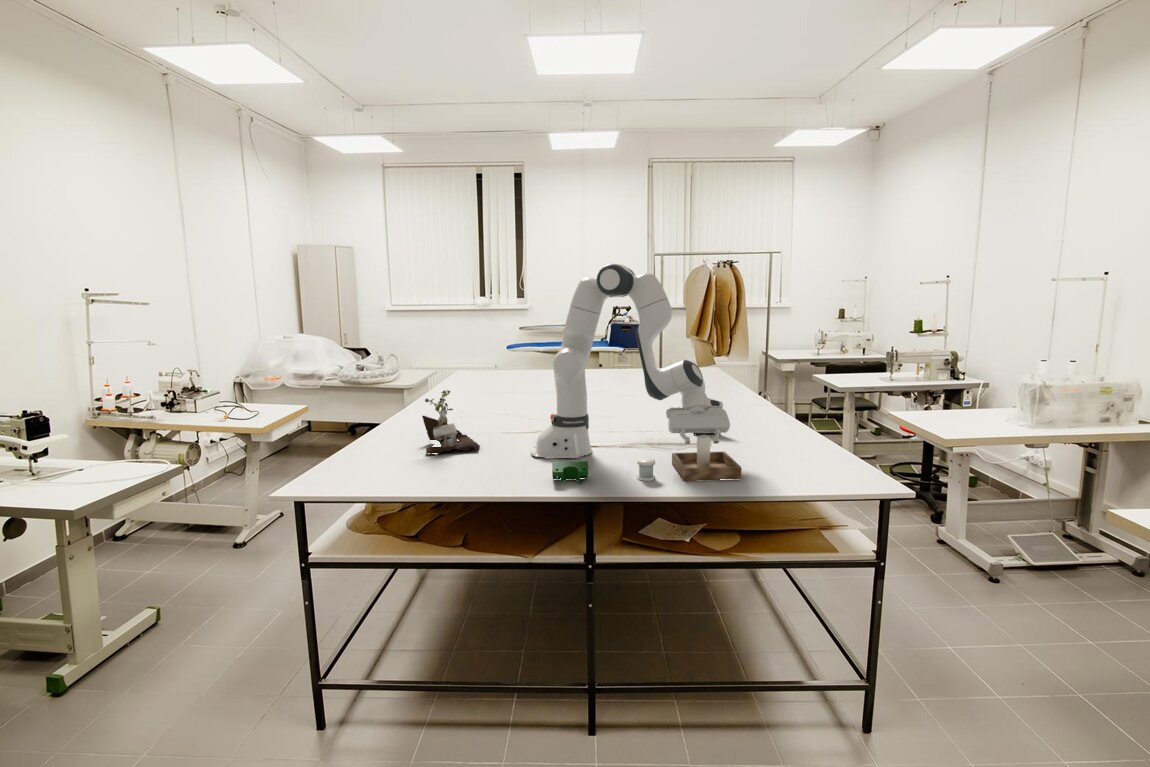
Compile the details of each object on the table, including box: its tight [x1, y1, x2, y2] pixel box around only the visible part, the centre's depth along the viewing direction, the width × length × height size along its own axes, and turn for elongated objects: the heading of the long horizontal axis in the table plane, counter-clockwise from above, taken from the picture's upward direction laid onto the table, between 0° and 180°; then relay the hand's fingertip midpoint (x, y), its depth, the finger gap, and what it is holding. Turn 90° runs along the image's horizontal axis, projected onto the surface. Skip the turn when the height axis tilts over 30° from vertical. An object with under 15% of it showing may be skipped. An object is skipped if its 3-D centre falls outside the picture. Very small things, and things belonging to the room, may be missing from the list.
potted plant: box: [421, 389, 480, 454], centre depth 225 cm, size 20×19×25 cm
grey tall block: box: [696, 435, 711, 468], centre depth 192 cm, size 4×4×11 cm
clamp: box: [551, 460, 590, 484], centre depth 183 cm, size 12×6×9 cm, turn 86°
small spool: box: [636, 457, 656, 482], centre depth 185 cm, size 6×6×6 cm
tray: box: [671, 450, 743, 482], centre depth 191 cm, size 18×18×4 cm
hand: (701, 442), depth 193 cm, fingers open, 8 cm apart
